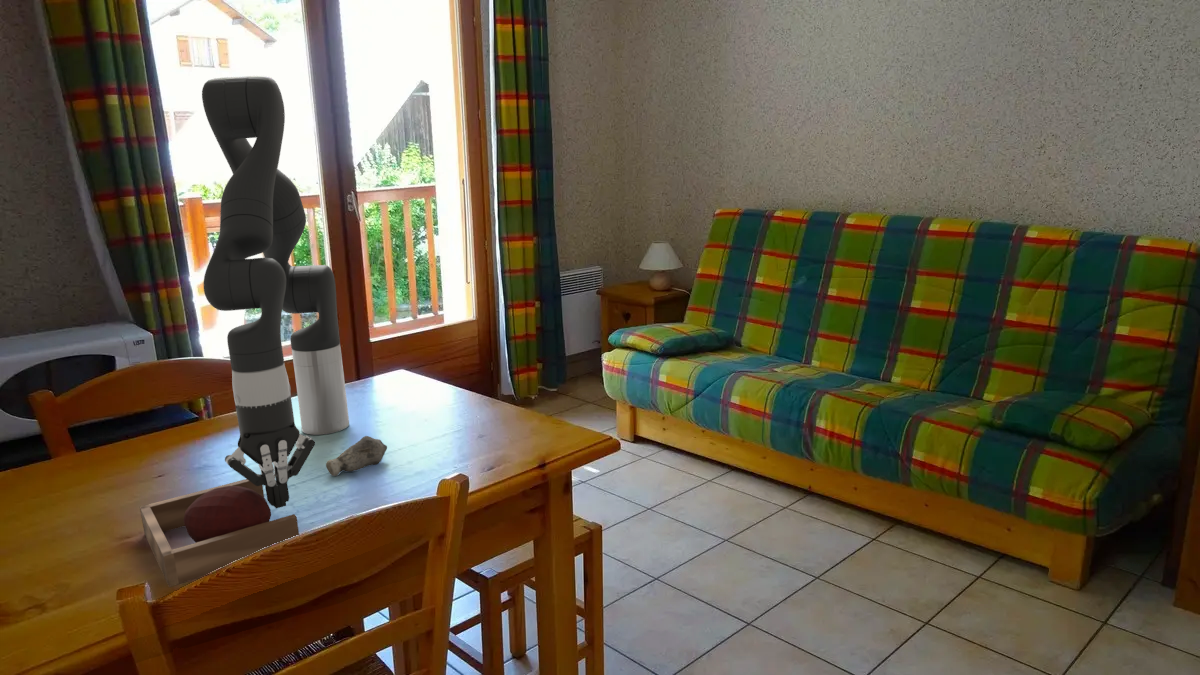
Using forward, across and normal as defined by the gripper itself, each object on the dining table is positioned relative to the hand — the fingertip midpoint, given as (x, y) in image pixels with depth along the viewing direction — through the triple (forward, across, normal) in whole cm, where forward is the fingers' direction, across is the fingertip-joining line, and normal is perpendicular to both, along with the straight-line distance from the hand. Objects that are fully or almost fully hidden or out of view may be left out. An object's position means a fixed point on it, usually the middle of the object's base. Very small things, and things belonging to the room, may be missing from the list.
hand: (279, 505), depth 122 cm
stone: (+4, -18, -15) cm, 23 cm away
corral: (+4, +8, -2) cm, 9 cm away
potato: (+4, +7, 0) cm, 8 cm away
